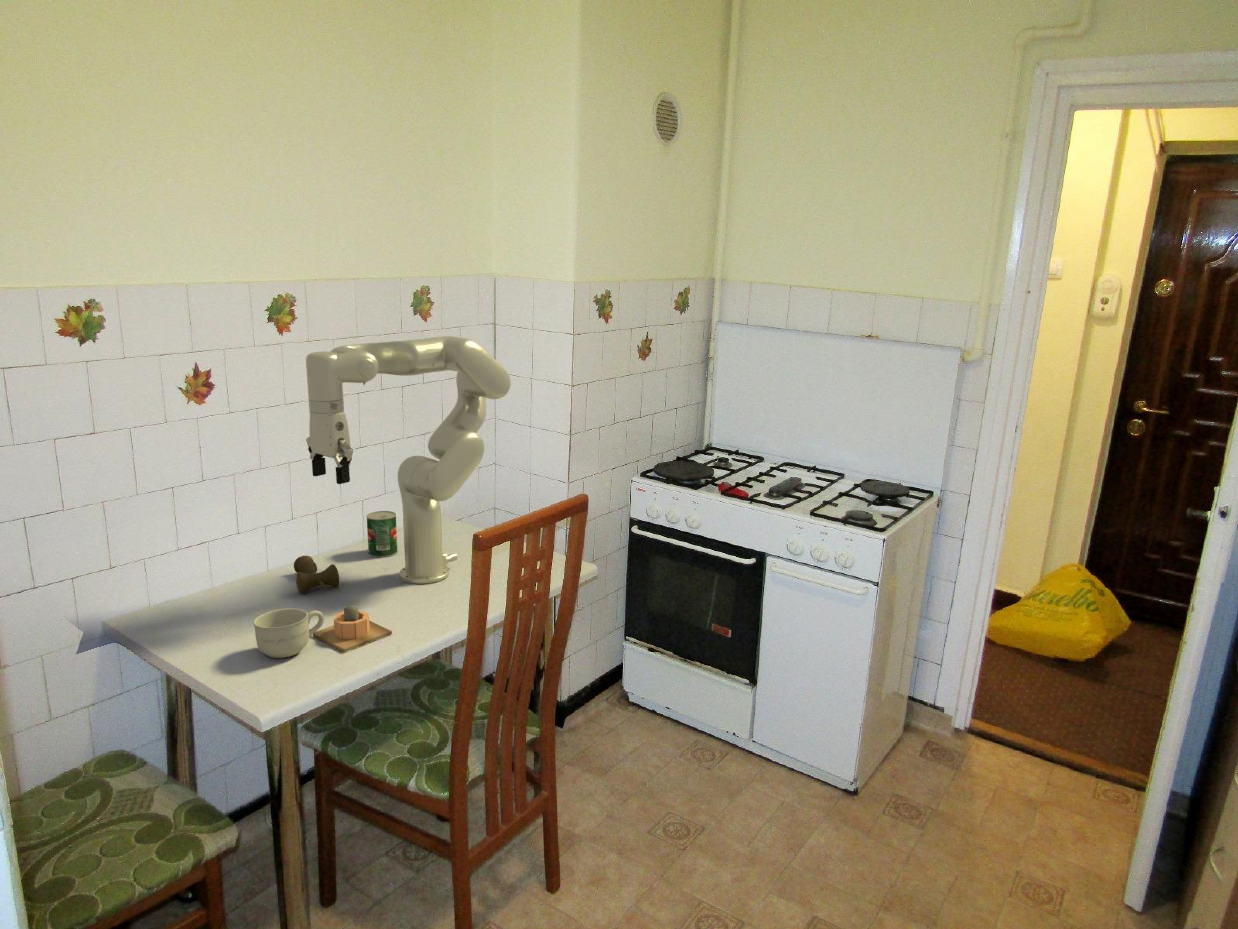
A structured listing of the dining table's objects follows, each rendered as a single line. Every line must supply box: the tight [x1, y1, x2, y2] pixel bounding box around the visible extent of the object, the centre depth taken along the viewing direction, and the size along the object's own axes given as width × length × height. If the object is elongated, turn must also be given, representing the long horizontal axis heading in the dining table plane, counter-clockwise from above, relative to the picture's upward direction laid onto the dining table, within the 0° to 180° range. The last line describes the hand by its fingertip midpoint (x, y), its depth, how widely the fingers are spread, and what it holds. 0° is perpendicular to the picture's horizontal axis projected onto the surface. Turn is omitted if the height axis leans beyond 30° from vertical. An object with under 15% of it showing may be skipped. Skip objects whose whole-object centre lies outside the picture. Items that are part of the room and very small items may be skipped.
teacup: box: [253, 608, 325, 659], centre depth 186 cm, size 14×11×8 cm
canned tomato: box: [365, 510, 399, 558], centre depth 244 cm, size 8×8×11 cm
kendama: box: [293, 555, 340, 596], centre depth 222 cm, size 6×10×20 cm
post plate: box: [312, 605, 393, 654], centre depth 194 cm, size 12×12×6 cm
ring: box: [333, 609, 370, 639], centre depth 194 cm, size 7×7×4 cm
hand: (331, 479), depth 205 cm, fingers open, 9 cm apart
